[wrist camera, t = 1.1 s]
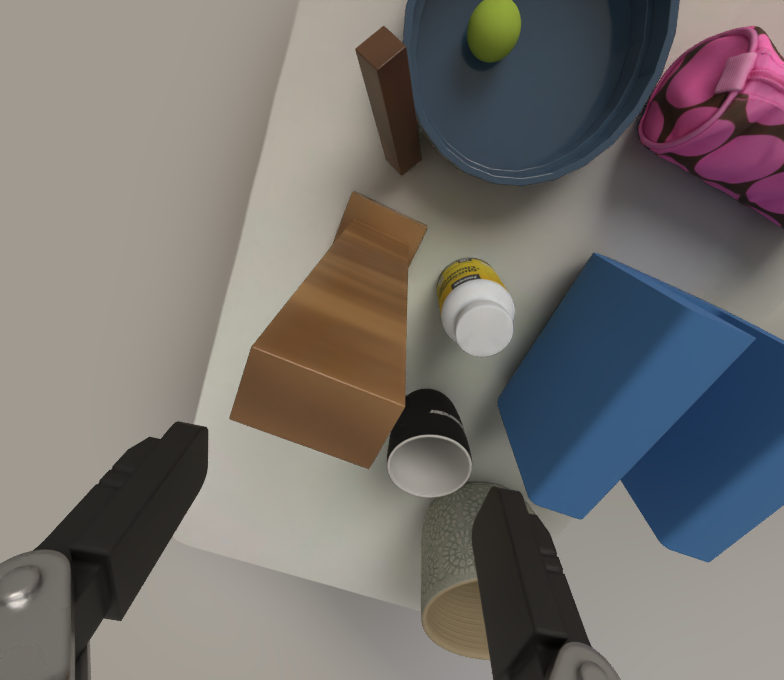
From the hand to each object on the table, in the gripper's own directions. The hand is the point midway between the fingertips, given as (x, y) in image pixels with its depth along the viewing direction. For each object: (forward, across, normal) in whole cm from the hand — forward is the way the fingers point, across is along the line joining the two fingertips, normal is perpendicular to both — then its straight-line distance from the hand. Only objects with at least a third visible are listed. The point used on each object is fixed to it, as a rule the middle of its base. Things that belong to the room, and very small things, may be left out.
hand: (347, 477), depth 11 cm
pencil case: (+32, -29, -15) cm, 46 cm away
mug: (+32, -8, +19) cm, 38 cm away
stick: (+26, +1, -10) cm, 28 cm away
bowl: (+32, -7, -17) cm, 37 cm away
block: (+32, -26, +6) cm, 41 cm away
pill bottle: (+32, -9, +3) cm, 33 cm away
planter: (+32, -21, +36) cm, 52 cm away
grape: (+29, -4, -18) cm, 34 cm away
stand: (+32, +2, +1) cm, 32 cm away
